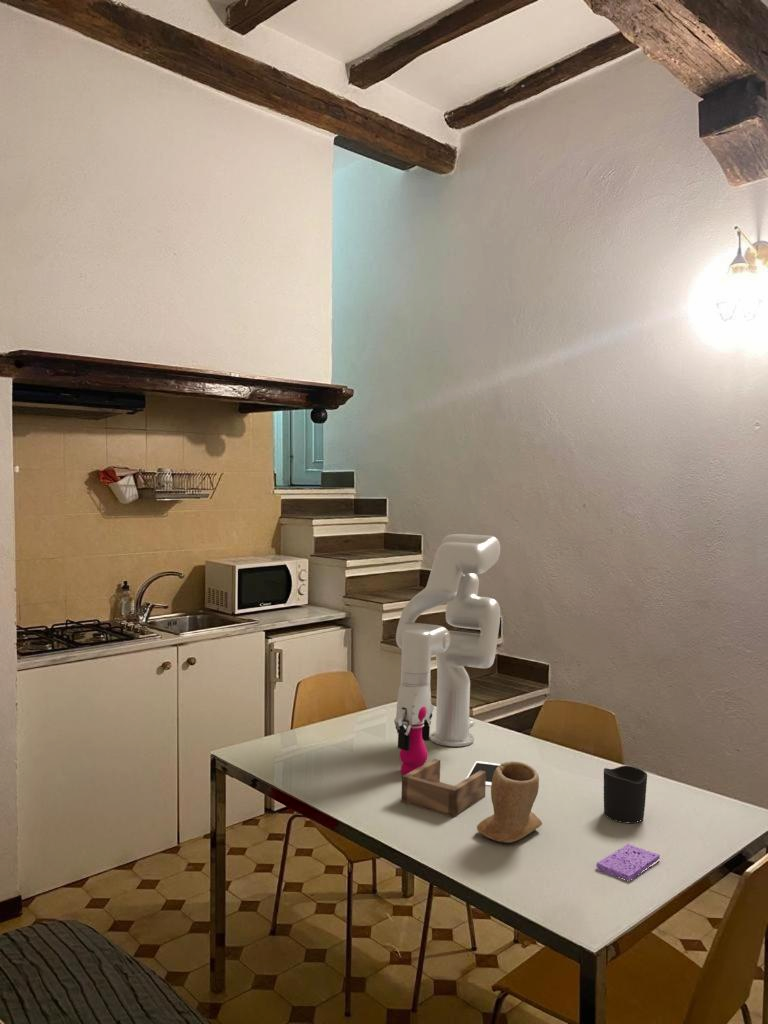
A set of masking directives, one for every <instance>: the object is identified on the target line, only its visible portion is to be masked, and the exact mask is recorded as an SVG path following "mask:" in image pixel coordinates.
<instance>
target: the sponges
mask: <svg viewBox="0 0 768 1024" xmlns="http://www.w3.org/2000/svg"><path fill="white" fill-rule="evenodd" d="M660 857H661V856H660V854H659V853H656V852H654V851H650V850H646V849H643V848H641V847H637V846H635V845H633V844H630V843H626V844H625V845H623V846H622V847H621V848H620V849H618V850H615V851H614V852H612V853H610V854H609V855H607V856H605V857H603V858H602V859H601V860H598V861H596V868H597V870H598V869H599V870H598V871H600V872H603V873H605V874H608V873H609V874H608V875H610V874H612V875H611V876H613V875H615V876H614V877H616V878H618V877H620V878H619V879H621V878H623V879H625V880H624V881H626V880H628V881H630V880H631V879H633V878H634V877H636V876H637V875H638V874H640V873H641V872H642V871H643V870H645V869H646V868H648V867H649V866H650V865H652V864H653V863H654V862H656V861H657V860H658V859H660V860H661V858H660ZM641 874H642V873H641ZM641 874H640V875H641ZM637 877H638V876H637ZM637 877H636V878H637ZM623 879H622V880H623ZM634 879H635V878H634ZM634 879H633V880H634ZM628 881H627V882H628ZM631 881H632V880H631ZM631 881H630V882H631Z"/></svg>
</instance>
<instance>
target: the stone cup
mask: <svg viewBox="0 0 768 1024" xmlns="http://www.w3.org/2000/svg"><path fill="white" fill-rule="evenodd" d="M500 764H501V765H499V766H498V767H497V768H496V770H495V771H494V774H493V778H492V784H491V786H490V796H491V797H490V799H491V803H492V808H493V814H492V815H490V816H487V817H486V818H485V819H483V820H481V821H480V822H479V823H478V824H477V825H476V829H477V832H478V833H480V834H481V835H482V836H484V837H486V838H488V839H489V840H493V841H496V842H500V843H506V844H510V843H511V844H512V843H513V842H517V841H519V840H521V839H523V838H525V837H526V836H527V835H530V834H531V833H532V832H534V831H535V830H537V829H539V828H540V827H541V826H542V825H543V822H542V821H541V819H540V818H539V817H538V816H537V815H536V814H535V813H534V812H532V808H533V806H534V803H535V801H536V798H537V796H538V794H539V788H540V787H539V786H540V777H539V773H538V772H537V770H536V769H535V768H534V767H533V766H531V765H529V764H528V763H524V762H522V761H505V762H503V763H500Z"/></svg>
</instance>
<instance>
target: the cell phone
mask: <svg viewBox="0 0 768 1024" xmlns="http://www.w3.org/2000/svg"><path fill="white" fill-rule="evenodd" d="M501 764H502V763H495V762H487V761H479V760H478V761H477V760H476V761H474V764H473V766H472V767H471V769H470V770H469V772H468V775H467V776H466V778H465V779H467V778H468V777H470V776H472V775H473V774H475V773H477V772H478V771H480V770H481V771H485V772H486V784H485V787H491V784H492V778H493V774H494V771H495V770H496V768H497V767H498V766H499V765H501Z"/></svg>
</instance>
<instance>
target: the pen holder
mask: <svg viewBox="0 0 768 1024" xmlns="http://www.w3.org/2000/svg"><path fill="white" fill-rule="evenodd" d="M647 783H648V773H647V772H646V771H644V770H643V769H641V768H638V767H635V766H630V765H621V766H619V767H614V768H607V767H605V768H603V813H604V814H605V816H606V815H607V816H608V817H609V818H608V817H607V816H606V817H607V818H608V819H610V818H611V819H610V820H612V819H613V821H614V820H617V821H616V822H618V821H621V822H620V823H622V822H637V821H640V820H641V821H643V820H644V817H645V808H646V797H647V795H646V794H647ZM641 821H640V822H641ZM637 823H638V822H637Z"/></svg>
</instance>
